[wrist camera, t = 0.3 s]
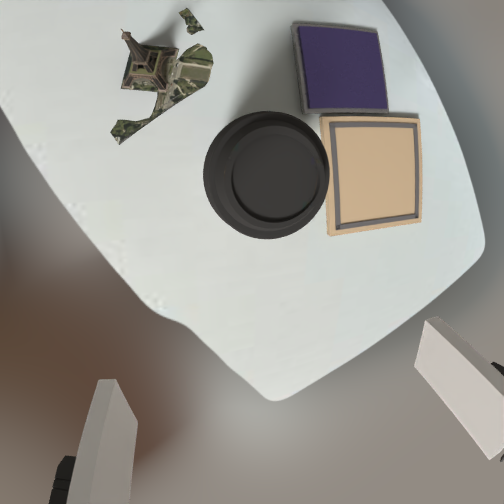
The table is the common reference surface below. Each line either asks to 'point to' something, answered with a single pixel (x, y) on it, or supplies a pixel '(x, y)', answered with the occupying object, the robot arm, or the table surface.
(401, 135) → the square wooden board
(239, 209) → the coffee cup
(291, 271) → the table surface
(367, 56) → the ink pad
